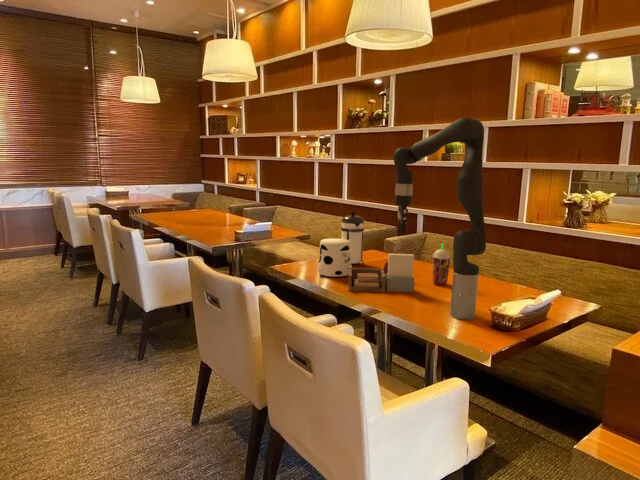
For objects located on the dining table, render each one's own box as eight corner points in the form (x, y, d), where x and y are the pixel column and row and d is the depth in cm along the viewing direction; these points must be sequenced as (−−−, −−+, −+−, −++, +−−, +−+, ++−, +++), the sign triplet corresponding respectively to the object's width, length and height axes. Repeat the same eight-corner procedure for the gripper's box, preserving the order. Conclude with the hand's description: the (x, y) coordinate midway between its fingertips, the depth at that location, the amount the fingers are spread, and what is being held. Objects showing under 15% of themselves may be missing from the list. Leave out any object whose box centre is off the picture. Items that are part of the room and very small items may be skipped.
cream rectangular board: (411, 290, 204) (413, 255, 201) (387, 289, 204) (389, 254, 201) (411, 288, 206) (413, 254, 203) (386, 287, 207) (388, 253, 204)
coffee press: (369, 263, 259) (372, 210, 253) (357, 268, 245) (358, 213, 240) (343, 258, 268) (344, 208, 262) (329, 264, 254) (330, 211, 249)
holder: (413, 294, 201) (414, 278, 200) (386, 293, 202) (387, 278, 200) (411, 288, 209) (412, 274, 208) (385, 288, 210) (385, 273, 208)
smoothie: (449, 287, 213) (452, 245, 209) (431, 285, 215) (433, 244, 211) (447, 282, 221) (450, 242, 217) (430, 281, 223) (433, 241, 219)
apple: (406, 280, 223) (407, 261, 221) (394, 284, 216) (395, 263, 215) (391, 276, 230) (392, 257, 228) (379, 279, 223) (380, 260, 222)
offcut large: (378, 291, 201) (379, 283, 201) (354, 290, 202) (354, 282, 201) (377, 287, 207) (378, 279, 206) (353, 286, 208) (354, 279, 207)
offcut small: (378, 282, 202) (378, 276, 201) (358, 282, 202) (358, 276, 201) (376, 279, 207) (377, 273, 206) (357, 279, 206) (357, 273, 206)
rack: (384, 294, 200) (385, 276, 198) (348, 293, 201) (349, 275, 199) (382, 285, 214) (383, 269, 212) (348, 284, 214) (348, 268, 213)
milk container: (357, 278, 226) (359, 243, 222) (326, 281, 218) (327, 245, 215) (341, 270, 241) (342, 237, 238) (312, 273, 234) (312, 239, 230)
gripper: (414, 195, 190) (412, 233, 193) (410, 193, 204) (408, 228, 207) (396, 195, 191) (395, 233, 193) (393, 192, 205) (391, 228, 207)
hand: (401, 230), depth 200 cm, fingers open, 8 cm apart
